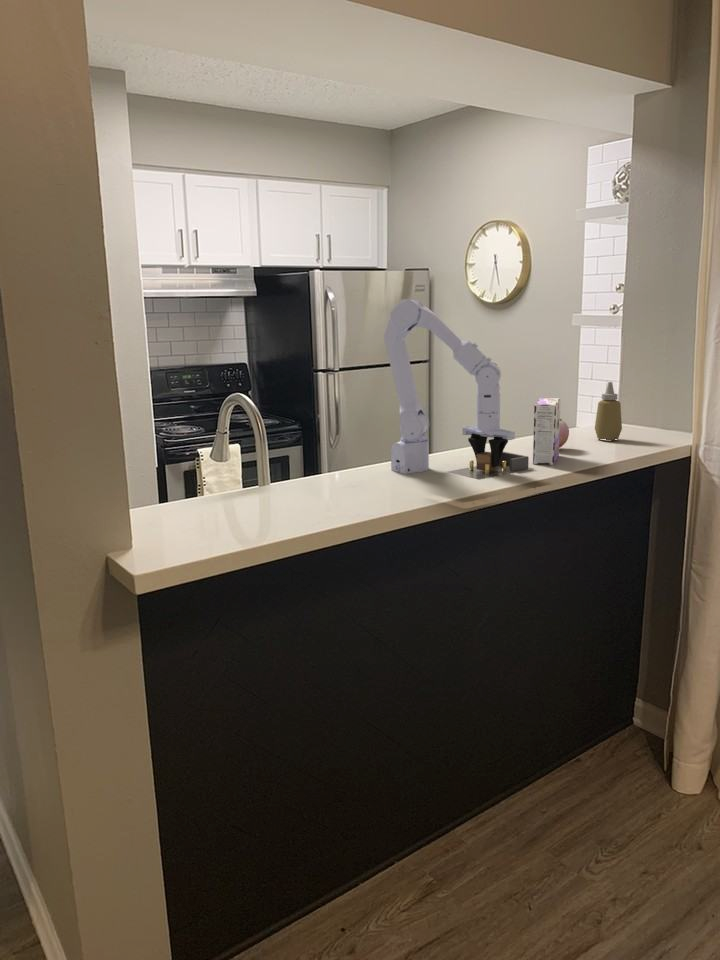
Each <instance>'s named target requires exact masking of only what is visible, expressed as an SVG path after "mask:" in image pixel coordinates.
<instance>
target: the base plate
mask: <svg viewBox="0 0 720 960" xmlns="http://www.w3.org/2000/svg"><path fill="white" fill-rule="evenodd" d="M474 463H475V462H474V460H469V467H466V468H459V469H455V470H448V471H446V473H451V474H455V475H458V476H463V477H467V478H471V479H475V480H484V479H489V478H494V477H499V476H504V475H509V474H514V473H519V472H520V473H521V472H524V471H525V472H526V471H531V470H534V469H535V468H534V467H529V466H528V468H526V469H521V470H516V471H510V465H507V464H506V461H502V464H499V469H496V470H493V471H489V464H485V471H484V470H477V469H476V466H474Z"/></svg>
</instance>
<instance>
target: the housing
mask: <svg viewBox="0 0 720 960" xmlns="http://www.w3.org/2000/svg"><path fill="white" fill-rule="evenodd" d="M502 461H506V464H507V465H510V471H516V470H521V469H526V468H528V467H529V456H528V455H522V454H517V453H512V452H506V451H503V452H502V455H501V458H500V462H499V464H502Z"/></svg>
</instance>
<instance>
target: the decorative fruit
mask: <svg viewBox="0 0 720 960" xmlns="http://www.w3.org/2000/svg"><path fill="white" fill-rule="evenodd" d="M569 436H570V428H569V426H568V424H567V423H566V421H564V420H563V419H562V418H560V435H559V449H560V448H562V447H563V446H565V444H566V443H567V442H568V439H569Z"/></svg>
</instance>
